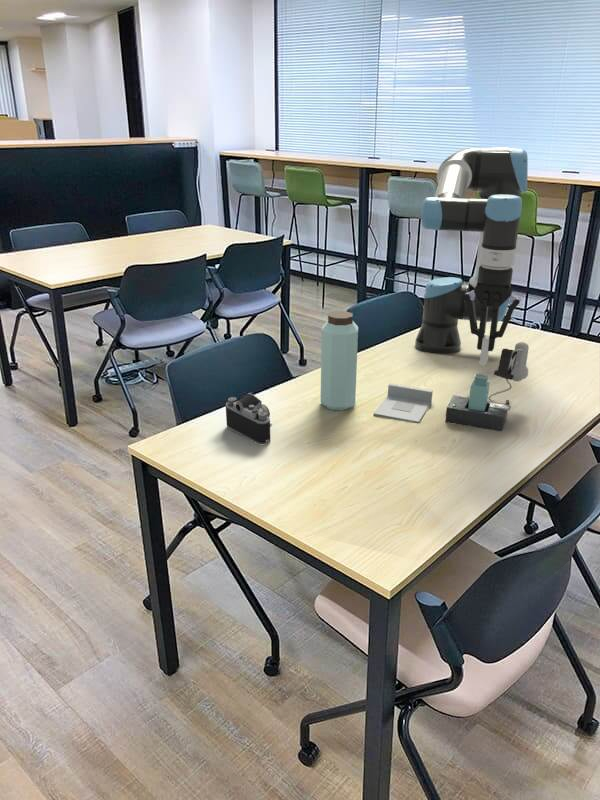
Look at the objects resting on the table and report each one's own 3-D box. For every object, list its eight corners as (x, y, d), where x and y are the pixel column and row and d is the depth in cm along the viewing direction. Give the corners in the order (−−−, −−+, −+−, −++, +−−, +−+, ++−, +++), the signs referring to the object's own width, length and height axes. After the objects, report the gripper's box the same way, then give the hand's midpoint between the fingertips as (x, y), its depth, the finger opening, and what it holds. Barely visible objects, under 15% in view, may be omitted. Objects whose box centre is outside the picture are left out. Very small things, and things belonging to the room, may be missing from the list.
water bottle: (313, 407, 169) (314, 317, 159) (329, 393, 177) (331, 307, 167) (347, 414, 165) (350, 322, 154) (362, 400, 173) (366, 312, 162)
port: (451, 410, 167) (453, 394, 165) (509, 420, 162) (511, 403, 160) (445, 423, 160) (446, 406, 158) (504, 434, 155) (507, 416, 153)
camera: (288, 436, 154) (288, 399, 150) (262, 447, 149) (261, 409, 145) (248, 415, 164) (247, 380, 160) (222, 425, 159) (220, 389, 155)
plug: (469, 415, 163) (474, 372, 158) (485, 418, 162) (490, 374, 157) (466, 421, 160) (471, 378, 155) (482, 424, 158) (488, 380, 154)
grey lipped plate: (388, 395, 176) (389, 383, 175) (431, 402, 172) (432, 390, 170) (373, 415, 164) (374, 402, 163) (418, 423, 160) (420, 411, 159)
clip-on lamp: (504, 418, 163) (514, 353, 155) (482, 411, 167) (491, 346, 159) (526, 404, 170) (536, 341, 163) (504, 397, 174) (513, 335, 167)
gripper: (464, 266, 144) (453, 363, 154) (524, 272, 139) (509, 371, 149) (470, 260, 150) (459, 353, 160) (527, 265, 145) (513, 361, 155)
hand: (483, 362), depth 154 cm, fingers closed
